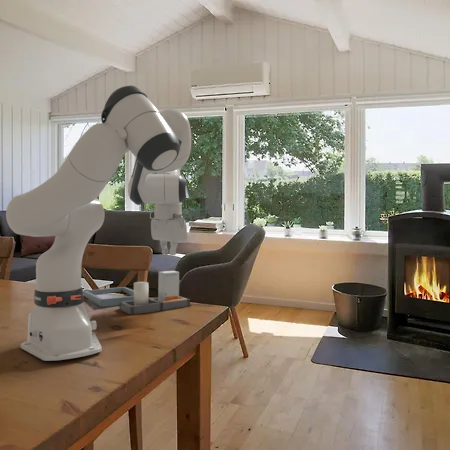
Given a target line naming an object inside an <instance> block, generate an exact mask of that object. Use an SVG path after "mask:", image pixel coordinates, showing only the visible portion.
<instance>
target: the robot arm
mask: <svg viewBox="0 0 450 450" xmlns="http://www.w3.org/2000/svg"><path fill="white" fill-rule="evenodd" d="M100 119H101V122H99V123H95V124H93V125H91V126H90V127H89V128H88V129H87V130H86V131H85V132H84V133H83V134H82V135H81V137H80V138H79V139H77V142H75V144H74V146H73V147H72V149H71V150H70V152H69V153H68V155H67V156H66V157H65V160H64V161H63V163H62V164H61V166H60V167H59V168H58V169H57V171H56V172H55V173H54V174H53V175H52V176H51V177H50V178H48V179H47V180H46V181H44V182H43V183H40V185H38V186H37V187H35V188H33V189H31V190H29V191H26V192H24V193H21V194H17V195H15V196H14V197H12V199H11V200H10V201H9V203H8V205H7V207H6V210H5V211H6V212H5V219H6V223H7V225H8V227H9V228H10V229H11V231H12V232H13V233H14V234H16V235H19V236H20V235H21V236H25V237H27V236H28V237H32V238H36V237H37V238H39V237H54V241H53V243H52V246H51V247H50V248H49V249H48V250H46V251H45V252H43V253H42V254H40V256H39V257H38V258H37V260H36V262H35V280H36V281H35V284H36V286H35V288H36V289H35V290H34V292H33V293H34V294H33V299H34V300H33V301H34V302H33V303H34V304H35V305H34V307H33V308H32V310H31V311H30V312H29V313H28V315H27V318H28V319H27V338H26V341H23V342H21V343H20V349H21V350H24V351H26V352H27V353H29V354H31V355H33V356H34V357H36V358H38V359H40V360H41V361H47V362H48V361H49V362H50V361H54V362H55V361H62V360H71V359H77V358H81V357H82V358H83V357H86V356H90V355H94V354H97V353H100V352H102V351H103V350H102V348H103V347H102V345H101V343H100V341H99V339H98V337H97V334H96V333H95V332H92V331H93V330H94V331H95V330H97V326H98V325H97V321H96V320H91V319H92V313H89V312H88V310H87V307H88V306H86V305H85V304H84V302H85V299H84V298H85V297H84V293H83V291H84V288H83V287H82V265H83V263H82V262H83V256H84V253H85V250H86V247H87V245H88V243H89V241H90V240H91V238H92V237H93V236H94V235H95V233H96V232H98V231H99V230H100V229H101V227H102V226H103V224H104V221H105V213H106V212H105V208H104V206H103V204H102V202H101V200H99V198H98V197H99V196H100V194H101V193H102V192H103V190H104V189H105V188H106V186H107V185H108V183H109V182H110V180H111V179H112V177H114V175H115V173H116V171H117V170H118V168H119V167H120V164H121V162H122V160H123V157H124V155H125V154H126V153H128V152H129V151H130V153H132V155H133V156H134V157H135V162H134V165H133V169H132V174H131V176H130V179H129V181H128V183H127V184H128V185H127V194H128V197H129V199H130V201H132V202H133V203H134V204H135V205H137V206H142V205H155V208H154V209H153V210H152V211H150V213H149V219H151V221H150V231H151V232H150V233H151V238H152V240H153V241H154V240H155V241H160V243H159V244H160V247H161V254H164V255H169V256H176V255H177V253H176V252H177V248H178V245H179V243H180V244H181V243H186V242H187V241H188V228H187V222H186V220H185V218H184V216H183V212H182V211H183V210H182V206H183V205H182V202H183V201H184V200H185V199H186V198H187V182H188V181H187V180H186V179H185V178H184V177H183V176H182V175H181V170H180V169H181V168H182V167H183V166H184V165H185V164H186V163H188V162H187V161H188V159H189V158H190V155H191V150H192V129H191V124H190V120H189V119H188V117H187V115H185V113H183V112H182V111H180V110H179V109H174V108H166V109H164V110H163V109H162V111H159V110H158V108H157V107H156V105H154V103H153V102H152V101H151V100H150V99H149V98H148V95H147V94H146V93H144V92H143V90H141V89H139V87H137V86H135V85H125V86H122V87H121V86H120V87H118V88H117V89H116V90H113V92H112V93H111V94H110V95H109V97H108V99H107V100H106V102H105V104H104V108H103V110H102V112H101V117H100ZM168 242H169V244H170V248H168Z"/></svg>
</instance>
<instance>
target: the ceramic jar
mask: <svg viewBox="0 0 450 450" xmlns="http://www.w3.org/2000/svg"><path fill="white" fill-rule="evenodd" d="M149 288H150V287H149V281H136V282H133V290H134V306H136V305H144V304H149V296H150V295H149V292H150V291H149V290H150V289H149Z"/></svg>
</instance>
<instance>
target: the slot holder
mask: <svg viewBox="0 0 450 450" xmlns="http://www.w3.org/2000/svg"><path fill="white" fill-rule="evenodd" d="M118 306H119V310H120V311H122V312H124V313H125V314H128V315H131V316H133V315H139V314H140V315H141V314H146V313H157V312H162V311H168V310H175V309H179V308H185V307H190V306H191V299H190V298H188V297H184V296H180V295H179V299H175V300H167V301H162V302H159V301H158V297H152V298H151V297H150V298H149V304H144V305H136V306H134V300H132V301H123V302H119V305H118Z"/></svg>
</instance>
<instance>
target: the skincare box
mask: <svg viewBox="0 0 450 450" xmlns="http://www.w3.org/2000/svg"><path fill="white" fill-rule="evenodd" d="M157 280H158V291H157V292H158V297H157V298H158V301H159V302H162V301H167V300H175V299H179V296H180V271H178V270H177V271H176V270H164V271H158V279H157Z"/></svg>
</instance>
